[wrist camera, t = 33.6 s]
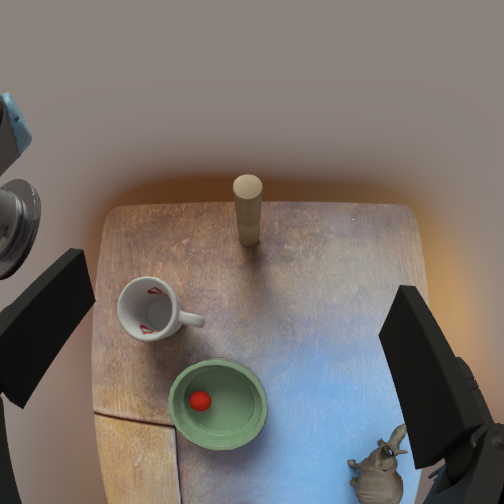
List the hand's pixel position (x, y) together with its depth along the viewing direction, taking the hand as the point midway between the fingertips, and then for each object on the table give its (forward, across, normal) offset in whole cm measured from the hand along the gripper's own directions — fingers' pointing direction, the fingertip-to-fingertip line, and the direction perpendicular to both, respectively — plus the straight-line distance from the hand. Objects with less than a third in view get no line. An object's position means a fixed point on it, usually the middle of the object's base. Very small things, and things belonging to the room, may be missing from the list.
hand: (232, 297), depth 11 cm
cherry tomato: (+12, -5, -27) cm, 30 cm away
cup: (+21, -11, -21) cm, 32 cm away
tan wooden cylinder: (+30, -1, -12) cm, 33 cm away
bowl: (+13, -2, -29) cm, 32 cm away
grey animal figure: (+6, +22, -36) cm, 42 cm away
